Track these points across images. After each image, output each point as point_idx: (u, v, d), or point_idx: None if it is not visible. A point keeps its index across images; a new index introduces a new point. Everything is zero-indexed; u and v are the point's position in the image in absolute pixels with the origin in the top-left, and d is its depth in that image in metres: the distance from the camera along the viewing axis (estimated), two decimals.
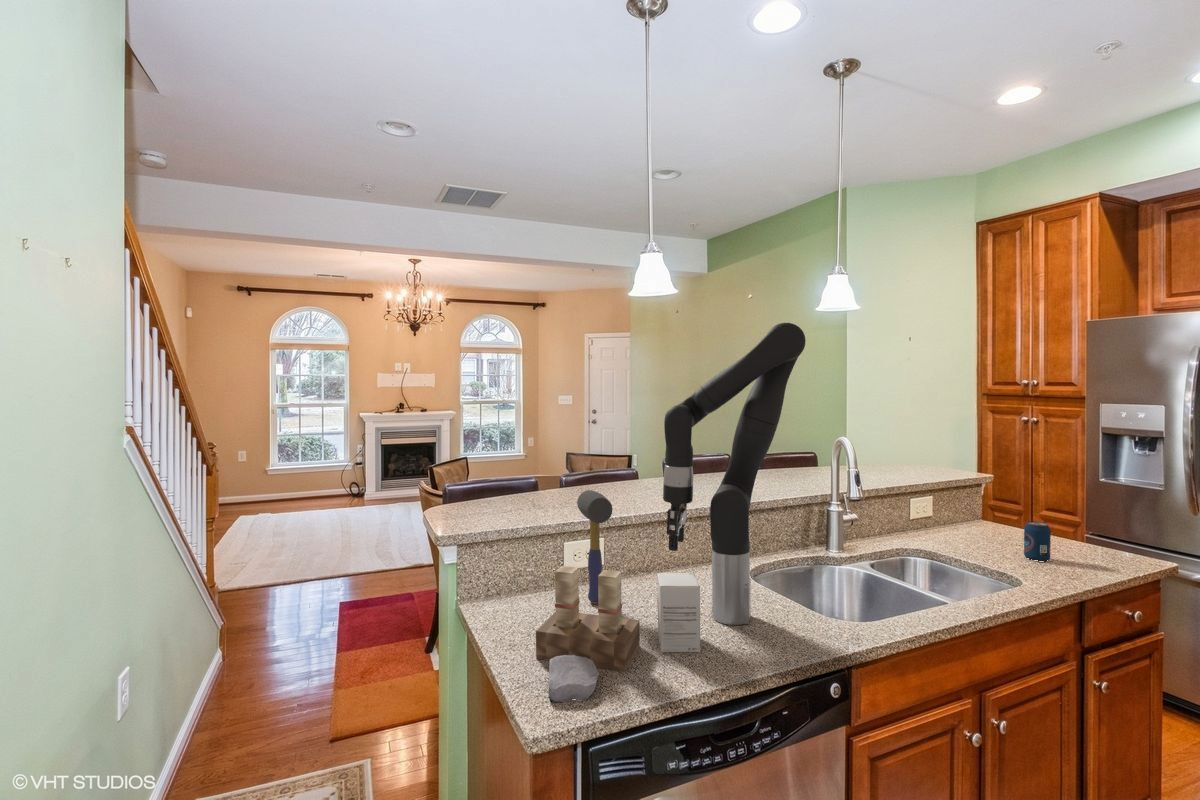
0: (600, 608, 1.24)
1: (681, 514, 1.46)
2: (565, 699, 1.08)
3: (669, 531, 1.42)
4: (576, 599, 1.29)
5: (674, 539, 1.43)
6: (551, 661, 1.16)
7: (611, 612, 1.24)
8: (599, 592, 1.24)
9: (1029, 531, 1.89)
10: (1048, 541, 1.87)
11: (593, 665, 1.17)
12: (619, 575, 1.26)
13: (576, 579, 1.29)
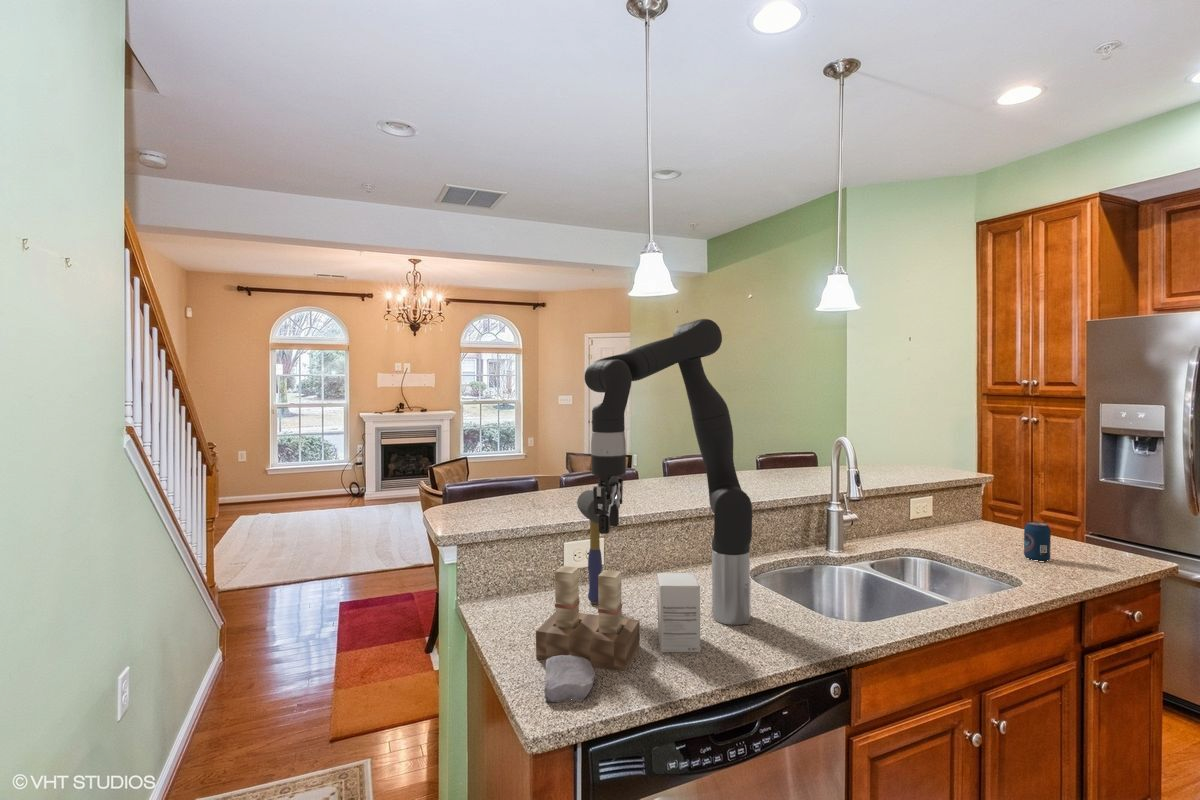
0: (600, 608, 1.24)
1: (612, 489, 1.23)
2: (561, 699, 1.08)
3: (597, 510, 1.20)
4: (576, 599, 1.29)
5: (604, 520, 1.21)
6: (548, 661, 1.16)
7: (611, 612, 1.24)
8: (599, 592, 1.24)
9: (1029, 531, 1.89)
10: (1048, 541, 1.87)
11: (590, 665, 1.17)
12: (619, 575, 1.26)
13: (576, 579, 1.29)
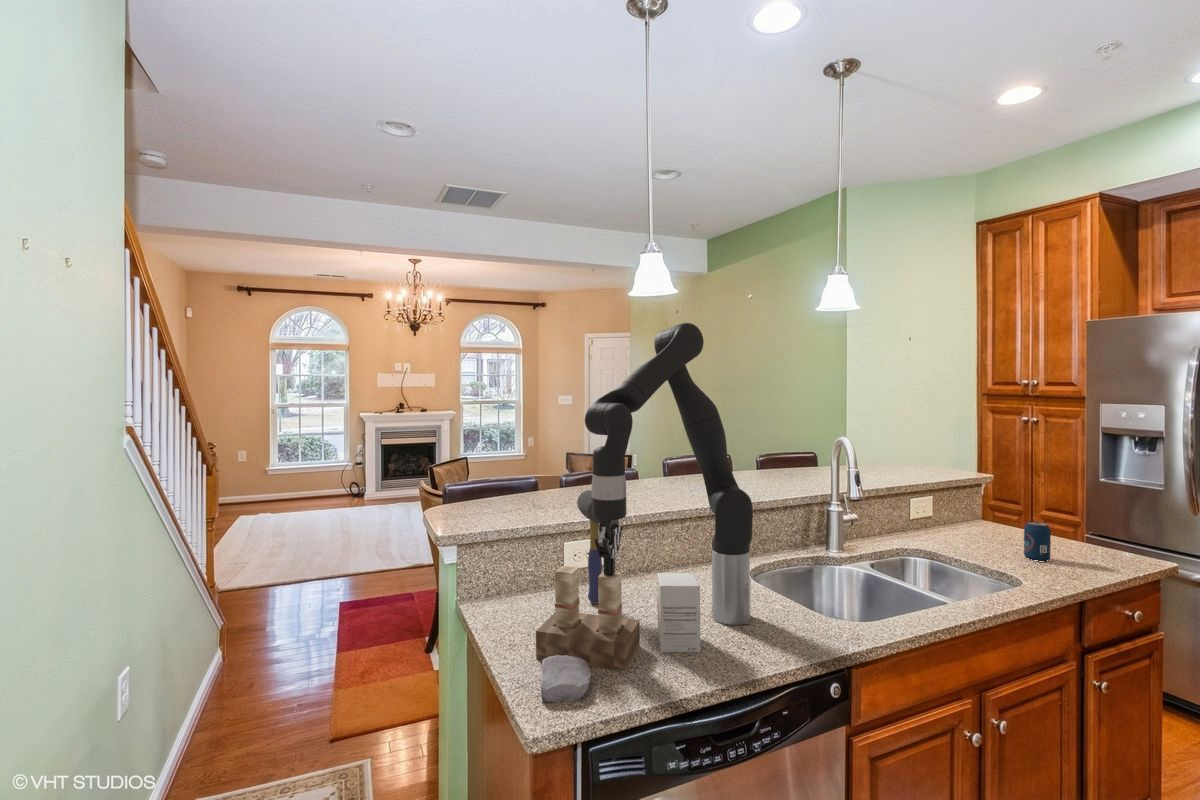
0: (600, 609, 1.24)
1: (613, 534, 1.23)
2: (558, 699, 1.08)
3: (602, 553, 1.23)
4: (576, 599, 1.29)
5: (609, 562, 1.24)
6: (544, 661, 1.16)
7: (611, 613, 1.24)
8: (599, 593, 1.24)
9: (1029, 531, 1.89)
10: (1048, 541, 1.87)
11: (586, 665, 1.17)
12: (619, 576, 1.26)
13: (576, 579, 1.29)
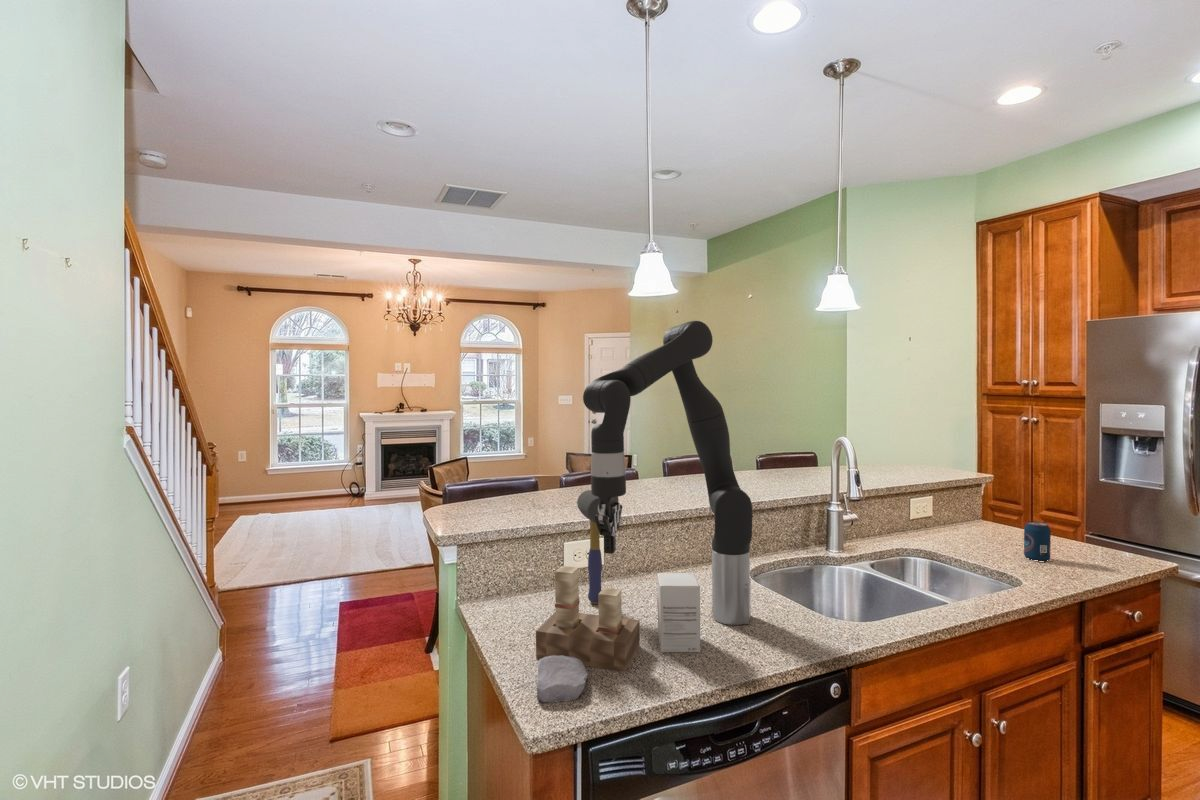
0: (600, 626, 1.25)
1: (613, 512, 1.23)
2: (554, 700, 1.08)
3: (602, 531, 1.22)
4: (576, 599, 1.29)
5: (609, 540, 1.24)
6: (540, 662, 1.16)
7: (611, 631, 1.24)
8: (599, 610, 1.25)
9: (1029, 531, 1.89)
10: (1048, 541, 1.87)
11: (582, 665, 1.17)
12: (619, 593, 1.26)
13: (576, 579, 1.29)
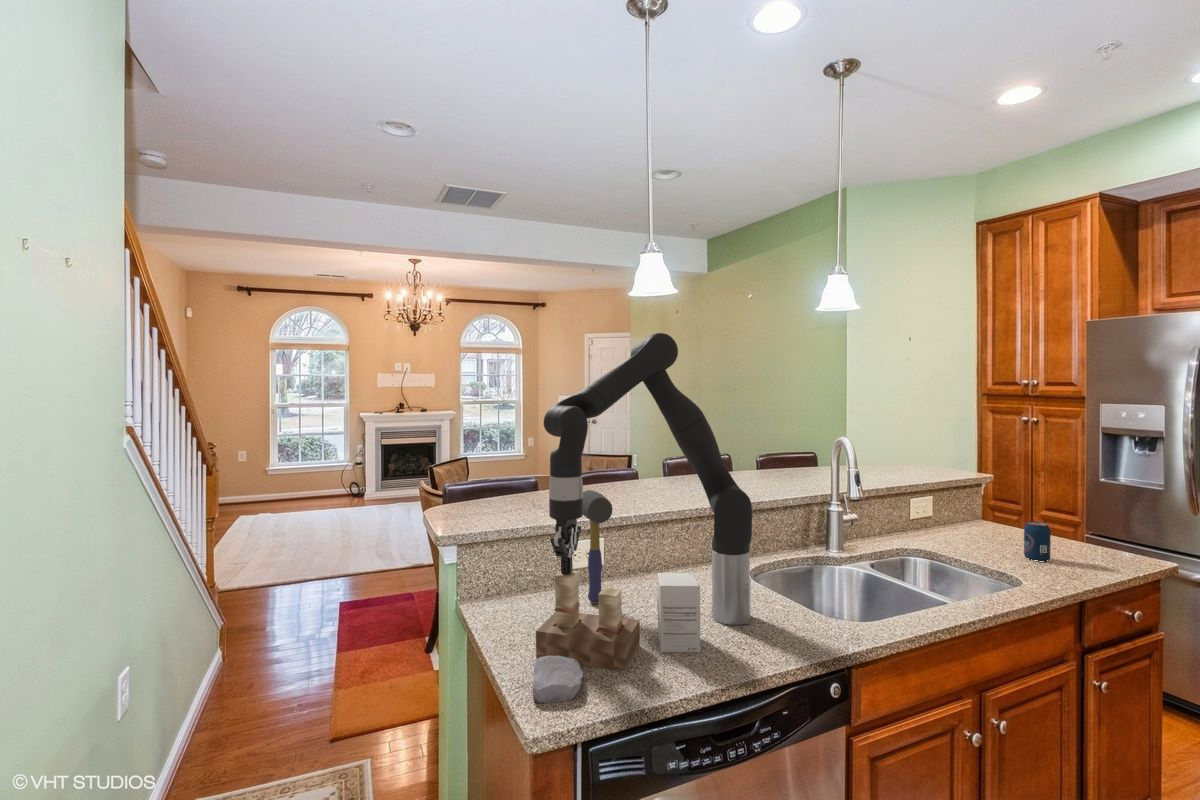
0: (600, 626, 1.25)
1: (569, 534, 1.26)
2: (549, 700, 1.08)
3: (558, 553, 1.26)
4: (576, 603, 1.29)
5: (566, 561, 1.27)
6: (536, 662, 1.16)
7: (611, 631, 1.24)
8: (599, 610, 1.25)
9: (1029, 531, 1.89)
10: (1048, 541, 1.87)
11: (578, 665, 1.17)
12: (619, 593, 1.26)
13: (576, 583, 1.29)
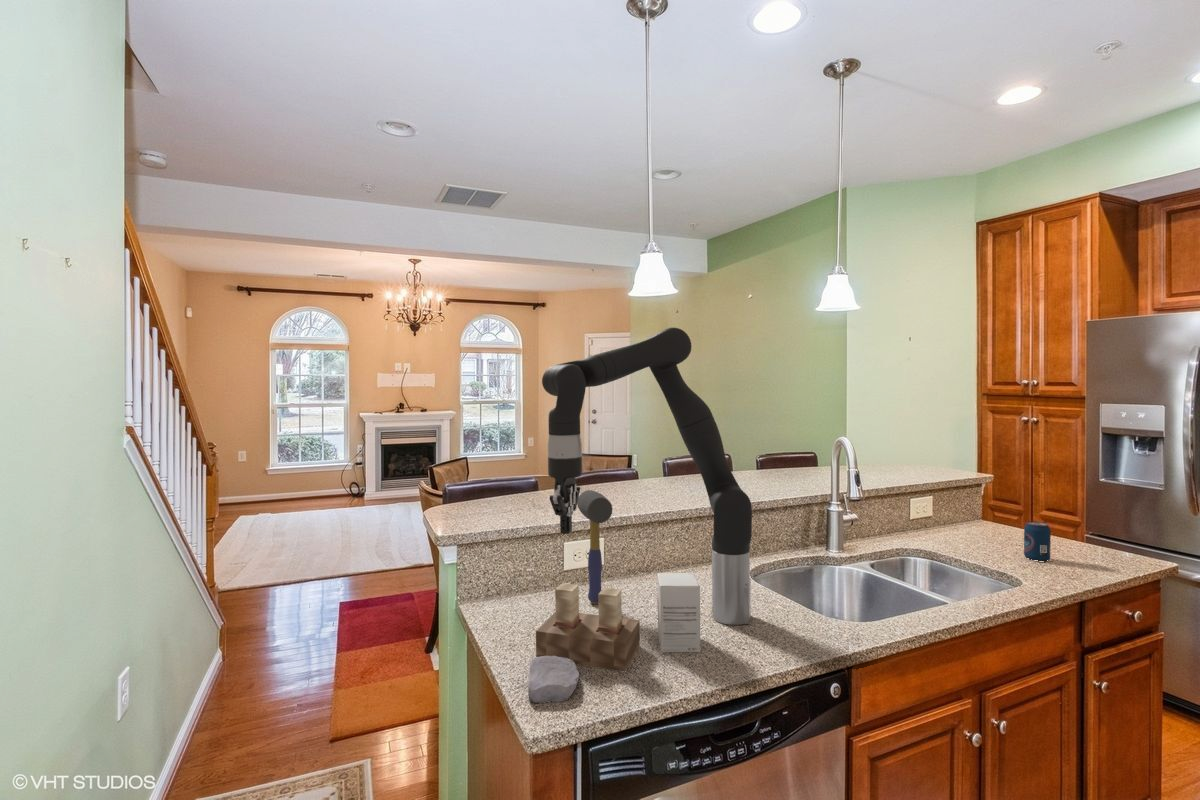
0: (600, 626, 1.25)
1: (568, 492, 1.26)
2: (545, 700, 1.08)
3: (558, 511, 1.26)
4: (576, 617, 1.29)
5: (565, 520, 1.27)
6: (531, 662, 1.16)
7: (611, 631, 1.24)
8: (599, 610, 1.25)
9: (1029, 531, 1.89)
10: (1048, 541, 1.87)
11: (574, 665, 1.17)
12: (619, 593, 1.26)
13: (576, 597, 1.29)
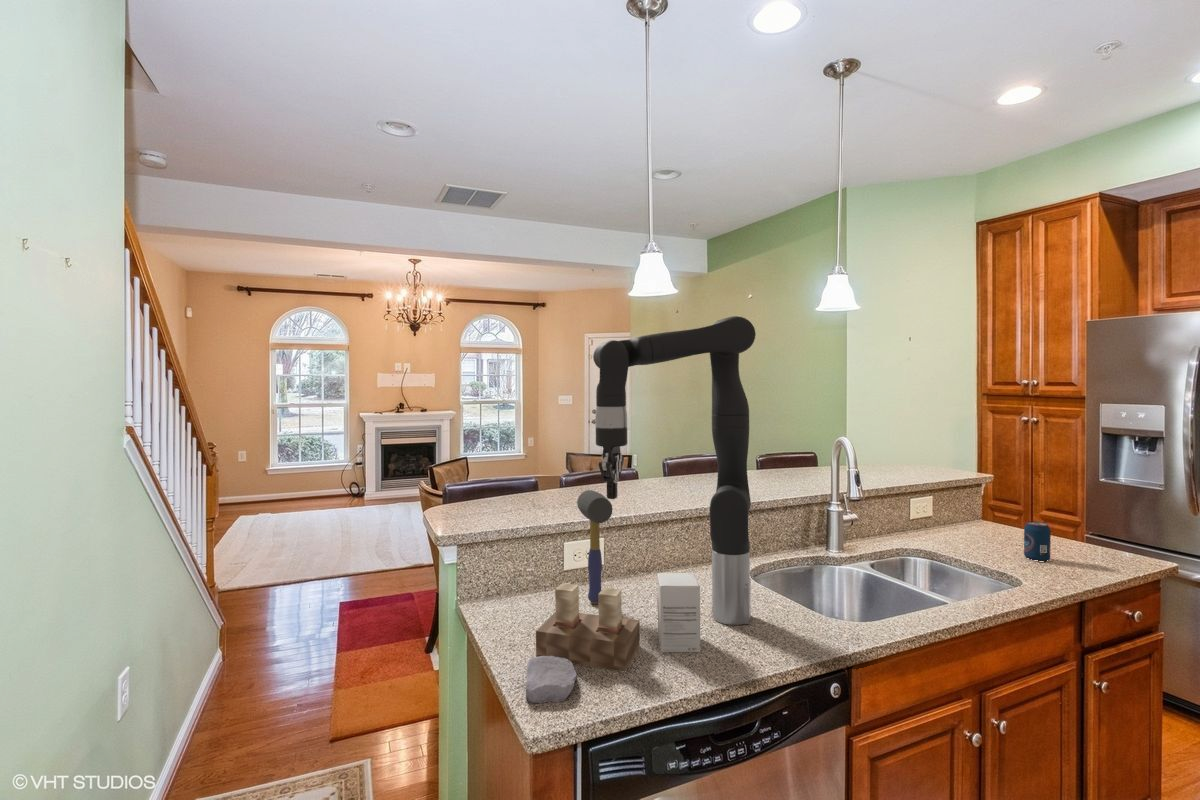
0: (600, 626, 1.25)
1: (615, 460, 1.35)
2: (542, 700, 1.08)
3: (605, 477, 1.35)
4: (576, 617, 1.29)
5: (612, 486, 1.36)
6: (529, 662, 1.16)
7: (611, 631, 1.24)
8: (599, 610, 1.25)
9: (1029, 531, 1.89)
10: (1048, 541, 1.87)
11: (571, 666, 1.17)
12: (619, 593, 1.26)
13: (576, 597, 1.29)
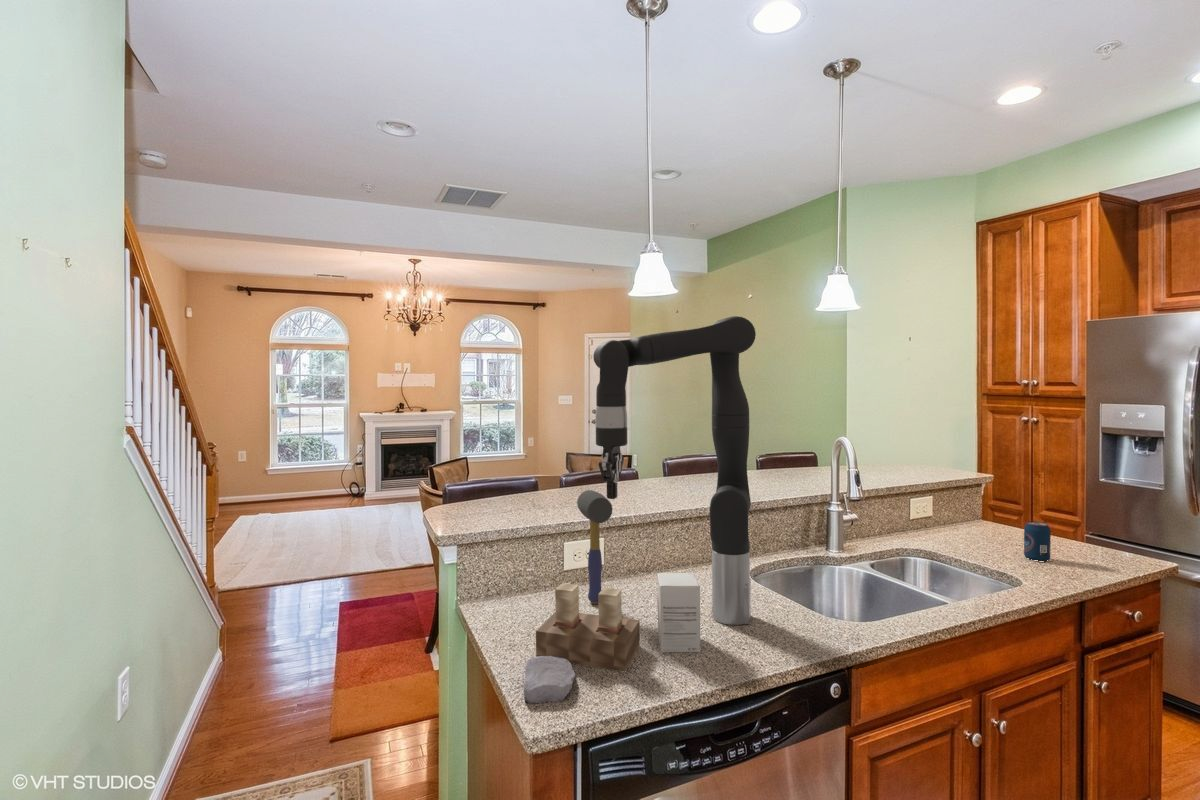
0: (600, 626, 1.25)
1: (615, 460, 1.35)
2: (540, 700, 1.08)
3: (605, 477, 1.35)
4: (576, 617, 1.29)
5: (612, 486, 1.36)
6: (527, 662, 1.16)
7: (611, 631, 1.24)
8: (599, 610, 1.25)
9: (1029, 531, 1.89)
10: (1048, 541, 1.87)
11: (569, 666, 1.17)
12: (619, 593, 1.26)
13: (576, 597, 1.29)
